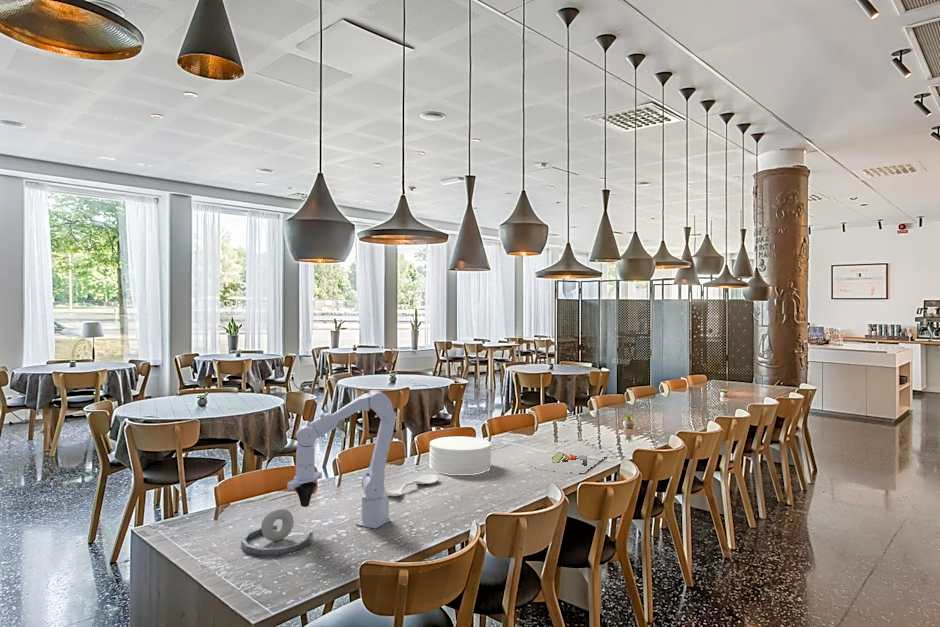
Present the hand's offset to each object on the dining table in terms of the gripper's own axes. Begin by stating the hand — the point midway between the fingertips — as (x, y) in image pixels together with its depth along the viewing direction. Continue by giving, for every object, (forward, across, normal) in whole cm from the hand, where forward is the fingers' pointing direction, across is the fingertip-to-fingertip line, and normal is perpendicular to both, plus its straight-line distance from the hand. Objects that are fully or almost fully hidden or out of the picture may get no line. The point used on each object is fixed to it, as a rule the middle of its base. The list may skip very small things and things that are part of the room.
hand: (304, 506), depth 192 cm
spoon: (+8, -54, +8) cm, 55 cm away
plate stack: (+8, -93, +11) cm, 94 cm away
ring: (+8, +13, 0) cm, 16 cm away
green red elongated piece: (+9, -129, +52) cm, 139 cm away
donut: (+8, +11, -1) cm, 13 cm away
